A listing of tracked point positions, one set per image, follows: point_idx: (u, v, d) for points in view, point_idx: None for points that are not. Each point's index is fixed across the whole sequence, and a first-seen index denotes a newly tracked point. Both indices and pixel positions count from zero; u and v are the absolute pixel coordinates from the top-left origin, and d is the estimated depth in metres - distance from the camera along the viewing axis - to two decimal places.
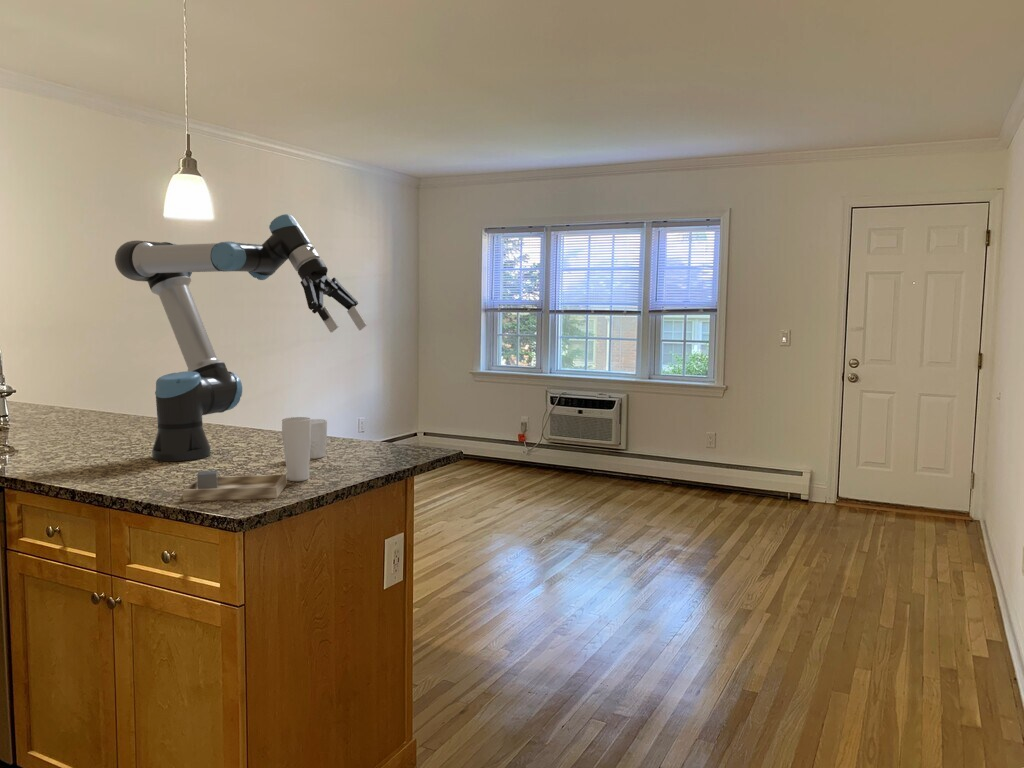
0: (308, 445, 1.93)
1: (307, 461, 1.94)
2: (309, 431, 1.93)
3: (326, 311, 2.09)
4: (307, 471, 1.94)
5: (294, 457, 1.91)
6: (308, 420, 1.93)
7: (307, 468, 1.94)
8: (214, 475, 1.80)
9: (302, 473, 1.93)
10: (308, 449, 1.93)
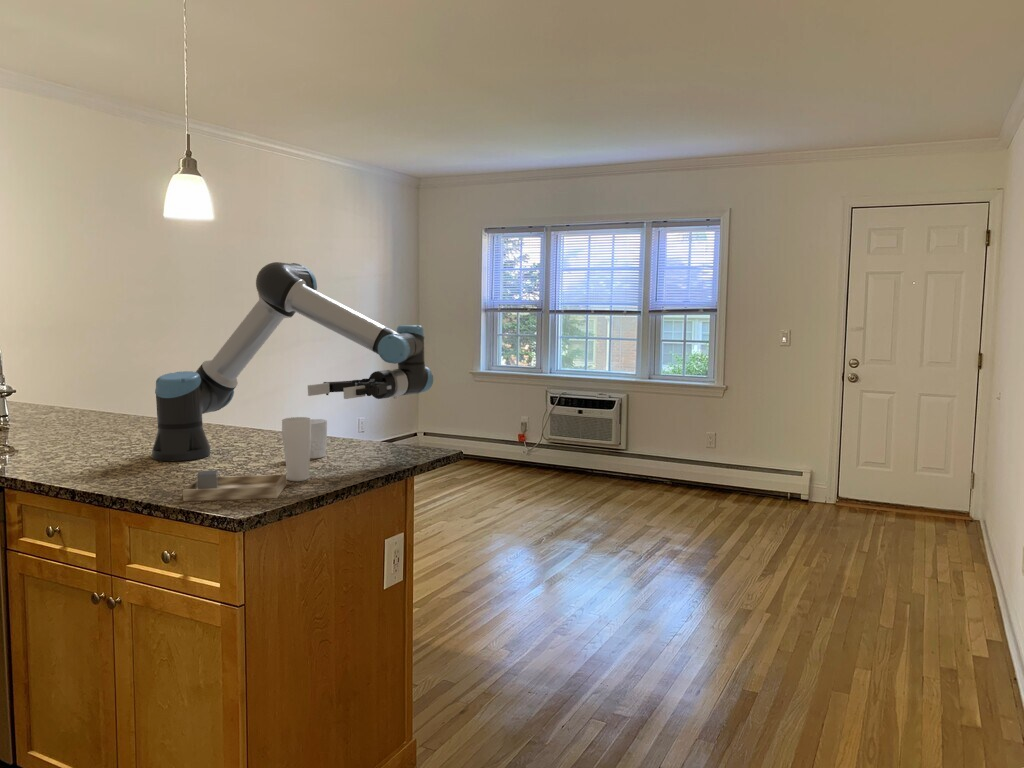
0: (308, 445, 1.93)
1: (307, 461, 1.94)
2: (309, 431, 1.93)
3: (361, 395, 2.00)
4: (307, 471, 1.94)
5: (294, 457, 1.91)
6: (308, 420, 1.93)
7: (307, 468, 1.94)
8: (214, 475, 1.80)
9: (302, 473, 1.93)
10: (308, 449, 1.93)
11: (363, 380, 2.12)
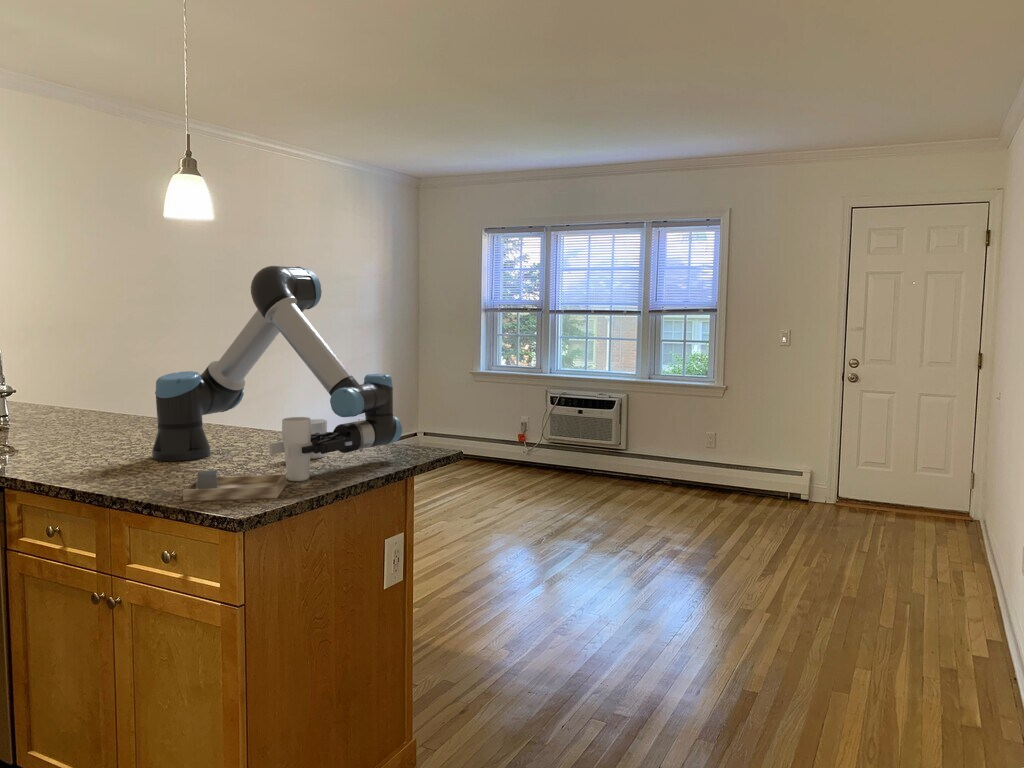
0: None
1: (307, 461, 1.94)
2: (309, 431, 1.93)
3: (307, 453, 1.92)
4: (307, 471, 1.94)
5: (294, 457, 1.91)
6: (308, 420, 1.93)
7: (307, 468, 1.94)
8: (214, 475, 1.80)
9: (302, 473, 1.93)
10: None
11: (327, 434, 2.03)
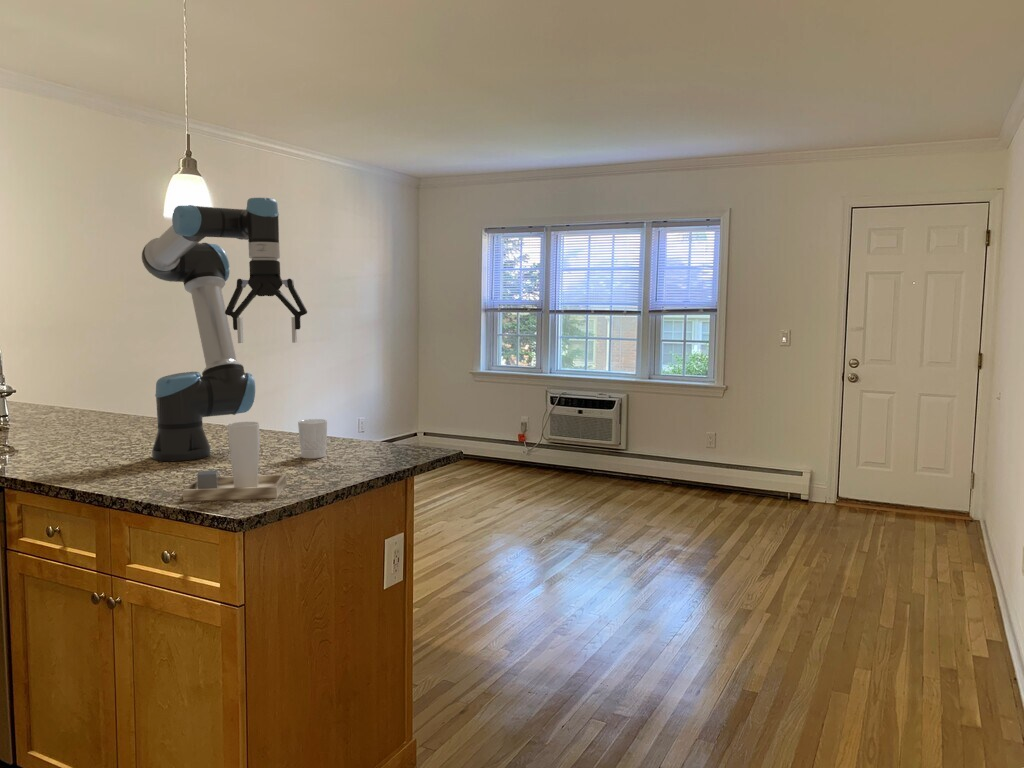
0: (256, 452, 1.81)
1: (255, 469, 1.81)
2: (257, 437, 1.81)
3: (237, 323, 2.04)
4: (255, 479, 1.82)
5: (241, 464, 1.79)
6: (256, 425, 1.80)
7: (255, 476, 1.81)
8: (214, 475, 1.80)
9: (250, 482, 1.80)
10: (256, 456, 1.81)
11: None
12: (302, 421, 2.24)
